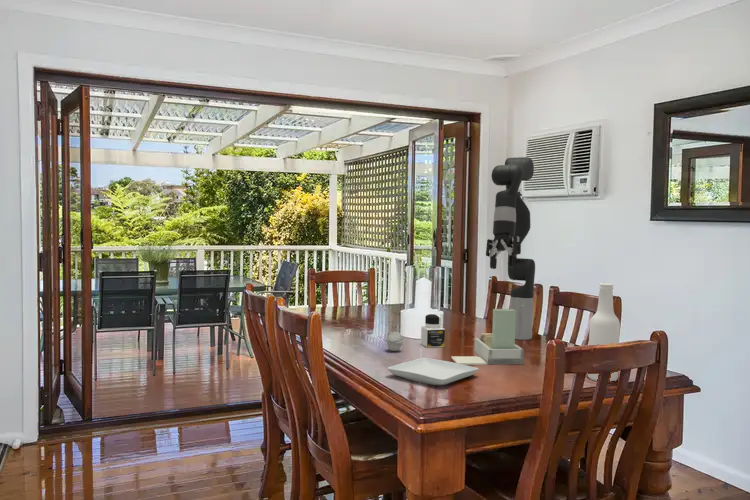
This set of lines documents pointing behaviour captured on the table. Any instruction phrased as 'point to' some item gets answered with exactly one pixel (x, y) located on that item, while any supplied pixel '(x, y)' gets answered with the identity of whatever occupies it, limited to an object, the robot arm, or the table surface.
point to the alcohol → (604, 323)
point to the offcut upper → (486, 337)
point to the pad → (469, 360)
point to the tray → (499, 354)
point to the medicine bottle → (432, 332)
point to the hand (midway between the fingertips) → (501, 268)
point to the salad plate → (432, 371)
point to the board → (503, 329)
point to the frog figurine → (394, 341)
